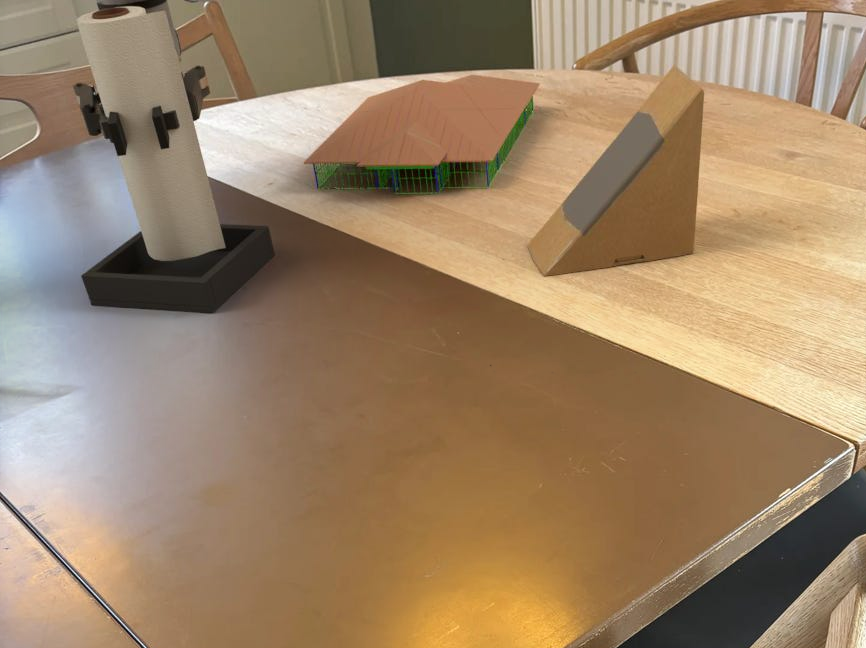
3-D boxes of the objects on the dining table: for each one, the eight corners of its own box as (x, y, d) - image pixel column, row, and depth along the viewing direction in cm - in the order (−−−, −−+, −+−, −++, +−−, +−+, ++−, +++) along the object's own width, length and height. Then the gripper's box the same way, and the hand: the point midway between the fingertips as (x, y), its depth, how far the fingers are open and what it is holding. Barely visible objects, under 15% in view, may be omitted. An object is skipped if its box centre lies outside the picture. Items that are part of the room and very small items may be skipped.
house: (300, 199, 120) (286, 125, 115) (381, 113, 143) (372, 48, 138) (488, 199, 115) (483, 121, 110) (540, 109, 138) (538, 42, 133)
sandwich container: (524, 244, 105) (516, 85, 95) (668, 223, 106) (675, 63, 96) (542, 277, 99) (535, 110, 89) (694, 254, 100) (705, 86, 90)
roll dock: (91, 305, 103) (80, 275, 100) (161, 249, 112) (153, 221, 110) (213, 313, 99) (204, 282, 97) (275, 254, 108) (268, 225, 106)
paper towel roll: (137, 254, 104) (62, 16, 90) (186, 234, 107) (121, 0, 93) (176, 270, 100) (104, 24, 86) (226, 249, 103) (164, 7, 89)
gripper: (228, 99, 111) (239, 165, 94) (78, 122, 110) (62, 194, 93) (211, 21, 106) (218, 76, 89) (53, 44, 105) (30, 104, 88)
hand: (138, 136), depth 91 cm, fingers closed on paper towel roll, 3 cm apart
